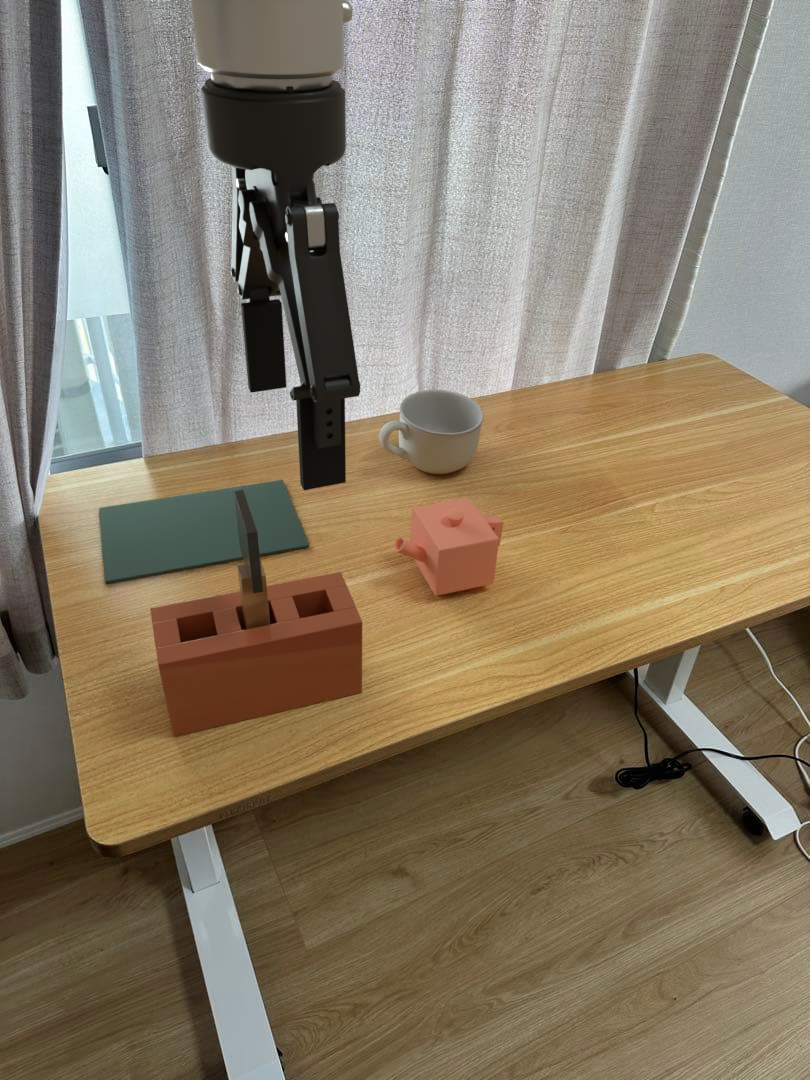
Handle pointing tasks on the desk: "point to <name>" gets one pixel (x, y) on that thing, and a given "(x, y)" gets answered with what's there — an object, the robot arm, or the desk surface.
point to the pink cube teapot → (453, 545)
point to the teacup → (436, 431)
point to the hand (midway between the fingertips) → (292, 431)
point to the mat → (194, 530)
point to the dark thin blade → (250, 568)
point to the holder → (258, 653)
